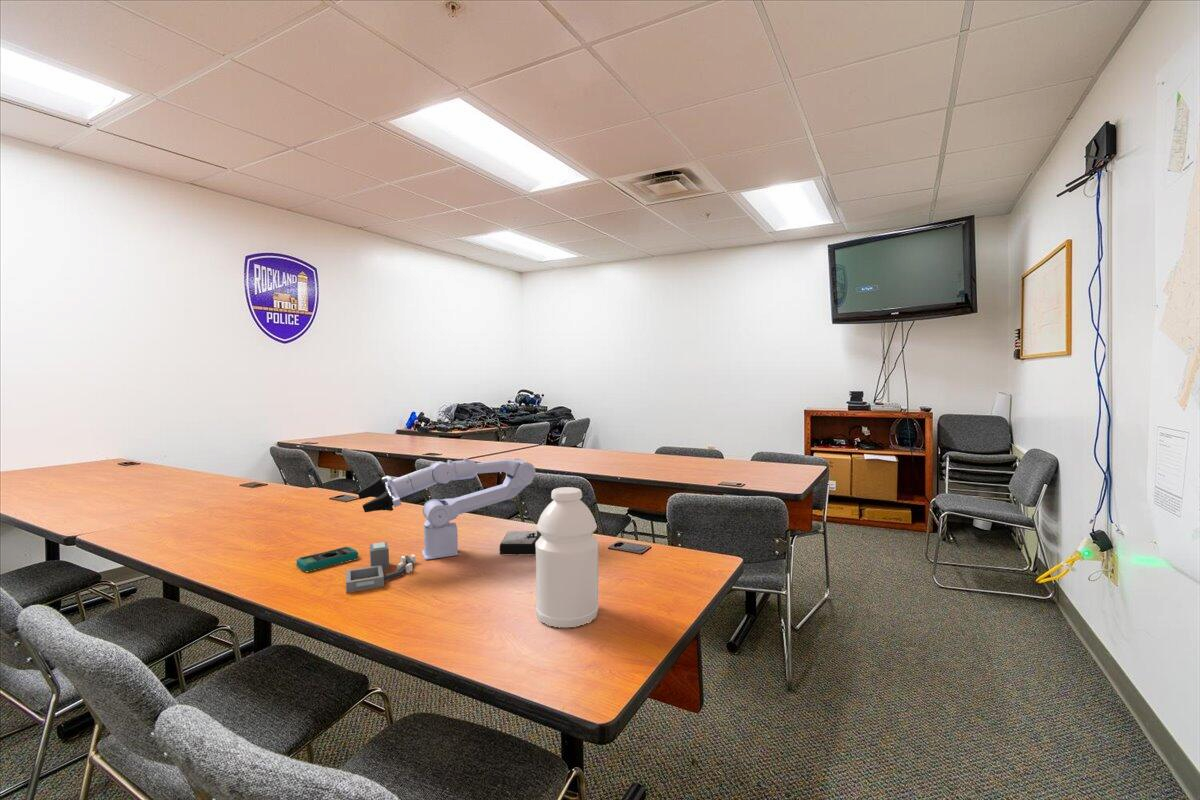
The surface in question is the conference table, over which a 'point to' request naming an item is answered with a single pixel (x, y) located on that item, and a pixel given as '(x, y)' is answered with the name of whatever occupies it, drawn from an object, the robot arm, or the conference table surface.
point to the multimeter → (519, 542)
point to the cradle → (366, 582)
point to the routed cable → (402, 567)
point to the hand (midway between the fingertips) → (360, 502)
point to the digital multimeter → (326, 558)
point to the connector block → (379, 555)
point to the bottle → (566, 561)
